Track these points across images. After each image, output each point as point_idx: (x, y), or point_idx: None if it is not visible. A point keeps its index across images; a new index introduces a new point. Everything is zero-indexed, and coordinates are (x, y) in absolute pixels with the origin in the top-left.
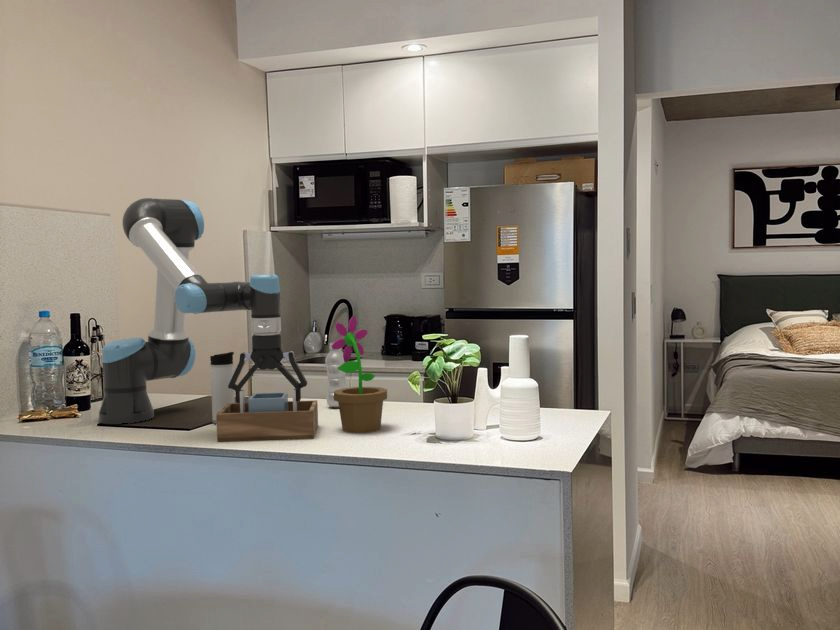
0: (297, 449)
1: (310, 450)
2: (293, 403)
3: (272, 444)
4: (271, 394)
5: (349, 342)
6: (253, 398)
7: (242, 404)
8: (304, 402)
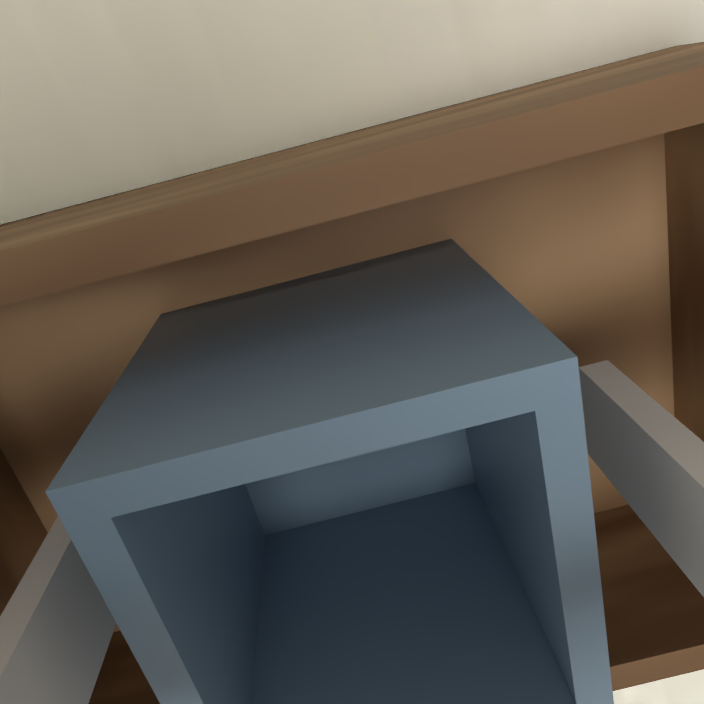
0: (630, 696)
1: (699, 701)
2: (650, 520)
3: None
4: (335, 451)
5: None
6: (209, 694)
7: (97, 663)
8: (701, 120)
